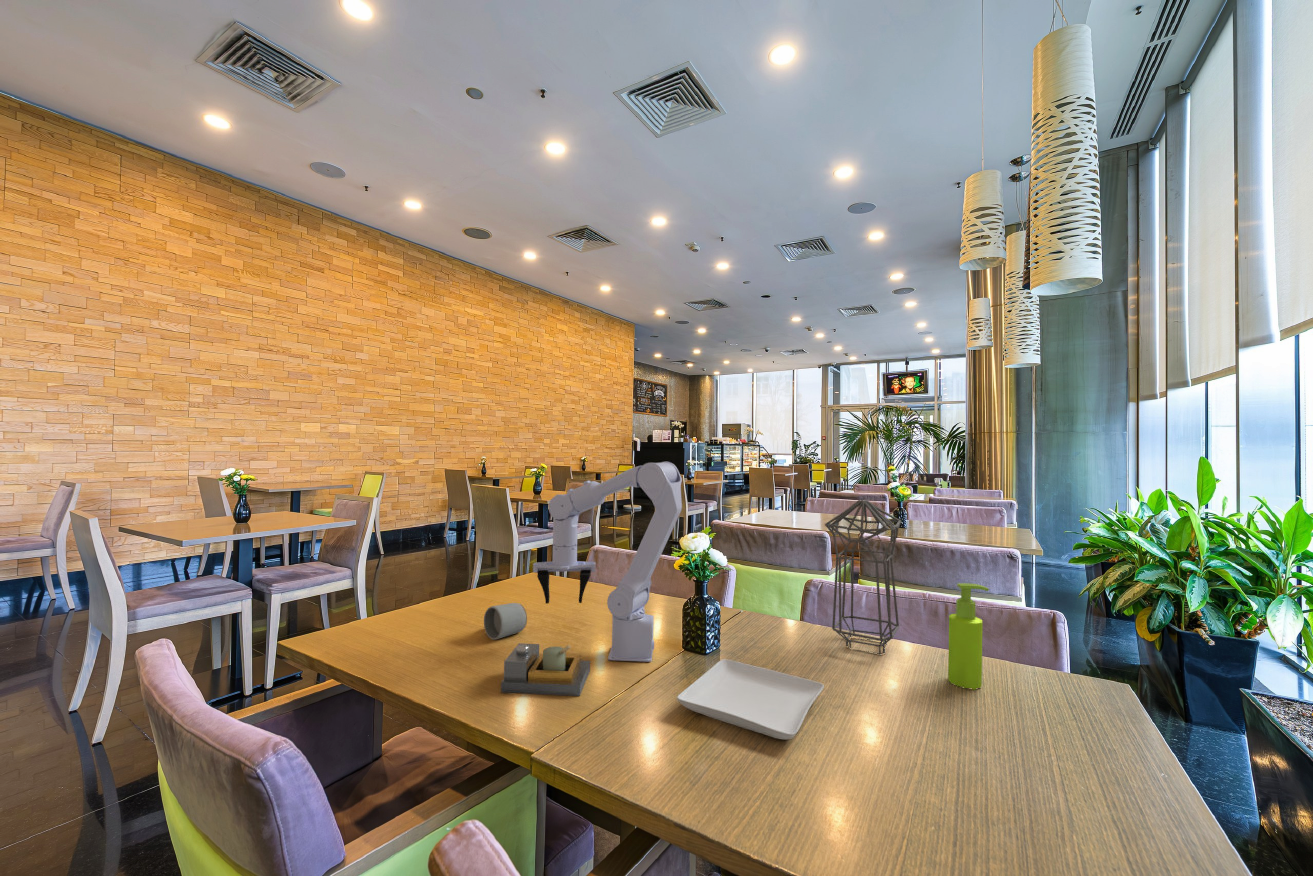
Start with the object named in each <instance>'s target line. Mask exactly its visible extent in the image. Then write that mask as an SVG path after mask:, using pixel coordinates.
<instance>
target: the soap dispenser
mask: <svg viewBox="0 0 1313 876" xmlns="http://www.w3.org/2000/svg"><path fill="white" fill-rule="evenodd" d="M956 586H957V588H959V589H960V597H959V598H957V599H956V604H955V605H956V606H955V610H956V611H955V613H952V614H949V615H948V658H947V661H948V666H947V668H948V669H947V680H948V679H949V680H948V682H949V681H950V682H951V683H950V682H949V683H950V684H952V683H953V684H955V685H954V686H956V685H957V686H956V687H958V686H961V687H964V688H963V689H965V688H972V689H971V690H977V689H976V688H980V687H981V686H982V682H983V681H982V680H983V624H984V623H983V620H982V618H979V617H977V616H976V605H977V603H976V601H975V600H974V599H972V590H981V591H985V592H989V591H990V588H988V587H987V586H985V585H981V584H978V583H969V582H968V583H964V582H963V583H962V582H961V583H959V582H958V583H957V584H956ZM953 684H952V685H953ZM961 687H960V688H961ZM982 687H983V686H982ZM982 687H981V688H982ZM981 688H980V689H981Z"/></svg>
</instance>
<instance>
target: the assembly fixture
mask: <svg viewBox="0 0 1313 876" xmlns="http://www.w3.org/2000/svg"><path fill="white" fill-rule="evenodd" d="M503 662H504V663H503V679H502V680H501V681H500V693H501V694H523V695H543V696H544V695H545V696H546V695H548V696H549V695H550V696H566V697H568V696H569V697H570V696H572V697H573V696H574V697H580V696H581V695H582V692H583V689H584V686H585V684H586V681H587V679H588V677H589V673H591V660H581V655H568V654H567V655H566V657H565V671H545V670H543V653H542V654H540V644H539V643H520V642H519V643H517V645H516V646H515V647H514V648H513V650H512V651H511V652H510V654H509V655H508V656H507V657H506V659H504V661H503Z"/></svg>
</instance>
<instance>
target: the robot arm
mask: <svg viewBox="0 0 1313 876" xmlns="http://www.w3.org/2000/svg"><path fill="white" fill-rule="evenodd" d="M682 481H683V478H682V476H681V474H680V471H679V469H678V468H677V466H676V465H675V464H674V463H672V462H670V461H662V462H646V463H644V464H643V465H638V466H637V465H636V466H634V467H632V468H629V469H626V470H625V471H623V472H621V473H619V474H617V475H615V476H613V477H611V478H609V479H607V480H604V481H603V482H601V483H600V482H597V480H593V481H591V480H585V481H584V482H582V485H581V486H579V487H576V488H569V489H567V490H566V492H567V493H565V494H563V493H562V494H561V493H560V494H559V493H557V494H555V495H554V496H553V497H551V499H550V500H549V503H548V512H549V514H550V515H551V517H552V521H553V523H552V526H553V527H552V561H541V562H540V561H539V562H533V564H532V573H536V574H537V579H538V581H539V584H540V586H541V589H542V591H543V594H544V599H545V604H549V603H550V598H551V597H550V572H551V573H552V572H553V573H554V572H560V573H561V572H580V574H579V595H578V604H582V603H583V596H584V593H585V589H586V587H587V584H588V582H589V580H590V578H591V575H592V574H591V573H595V572H596V561H580V560H578V525H579V523H578V522H579V517H580V514H582V513H584V512H587V511H588V510H591V509H593V508H596V507H599V506H600V505H603V504H604V502H605V500H606V498H607V496H610V495H612V494H615V493H617V492H619V491H623V490H625V489H627V488H631V487H634V488H641V489H642V491H643V492H644V493H645V495H647V497H648V498H649V499H650V501H652V504H653V506H654V510H655V511H654V513H653V515H652V517H651V519H650V522H649V523H648V526H647V528H646V531H645V532H644V535H643V537H642V539H641V541H640V544H639V546H638V548H637V551H636V553H635V555H634V557H633V560H632V562H631V563H630V567H628V568H629V569H628V571H627V572H626V573H625V575H624V576H623V577H622V578H621V579H620V581H619V582H618V584H617V587H616V588H615V589H614V590H612V591H611V592H610V593H609V594H608V596H607V599H606V600H607V603H606V604H607V608H608V610H609V612H610V613H611V615H612V616H611V618H612V621H611V622H612V623H611V624H612V628H611V629H612V631H611V633H612V634H611V648H610V651H609V654H608V656H607V660H608V661H619V662H620V661H622V662H624V661H625V662H626V661H627V662H648V663H650V662H652V660H653V652H654V650H655V640H654V623H655V621H654V615H652V614H647V613H645V612H646V611H645V605H647V603H648V602H649V599H650V588H651V586H652V580H651V577H652V575H653V573H654V570H656V566H657V564H658V562H659V560H660V558H661V556H662V554H663V551H664V549H665V547H666V545H667V543H668V541H669V539H670V536H671V534H672V531H673V529H674V528H675V525H676V523H677V521H678V519H679V516H680V515H681V512H682V510H683V509H682V508H683V504H682V503H683V502H682V489H681V488H682V487H681V485H682V483H683V482H682Z"/></svg>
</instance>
